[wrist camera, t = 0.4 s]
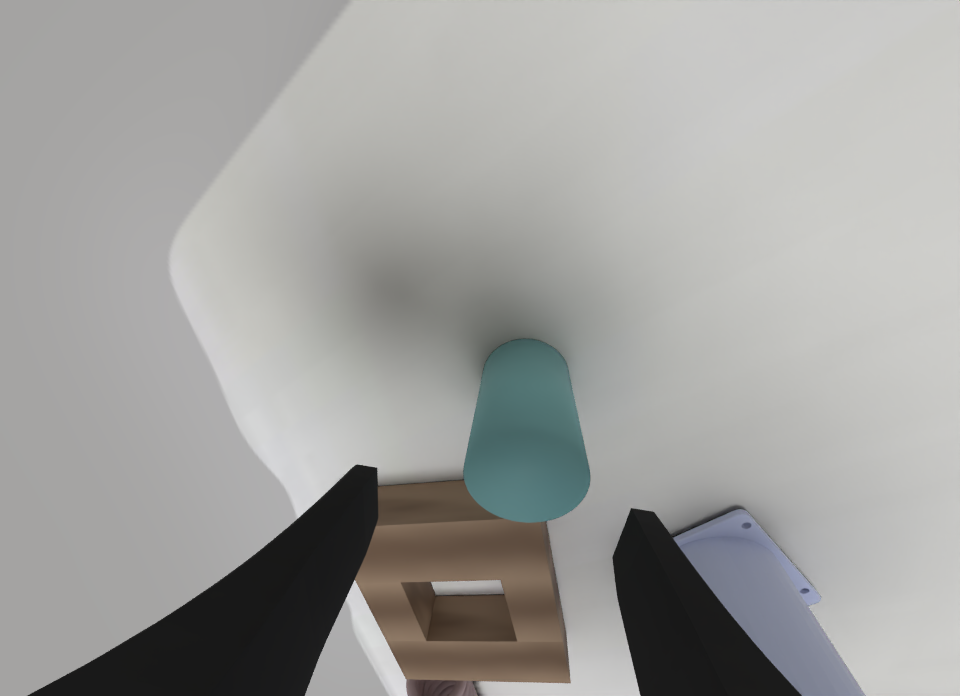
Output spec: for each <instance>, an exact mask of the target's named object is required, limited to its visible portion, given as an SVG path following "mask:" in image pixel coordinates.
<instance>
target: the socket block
mask: <svg viewBox="0 0 960 696" xmlns="http://www.w3.org/2000/svg"><path fill="white" fill-rule="evenodd" d="M476 580H501V583H502V587H503V590H504V594H505V595H469V596H436V595H435V593H434V590H433V588H432V585H431V583H430V582H436V581H476ZM355 581H356V583H357V585H358V587H359V588H360V590H361V592H362V594H363V596H364V598H365V600H366V602H367V604H368V606H369V608H370V610H371V612H372V614H373V616H374V618H375V620H376V622H377V624H378V625H379V627H380V629H381V631H382V633H383V635H384V637H385V639H386V641H387V643H388V645H389V647H390V649H391V651H392V653H393V655H394V657H395V659H396V661H397V662H398V664H399V666H400V668H401V670H402V672H403V674H404V676H405V678H406V679H415V680H458V681H500V682H542V683H571V682H570V670H569V659H568V648H567V637H566V630H565V625H564V619H563V613H562V608H561V602H560V597H559V591H558V585H557V580H556V574H555V569H554V563H553V558H552V552H551V546H550V541H549V535H548V530H547V524H546V521H544V522H533V523H526V522H517V521H511V520H507V519H504V518H501V517H499V516H496V515H494V514H492V513H490V512H489V511H487V510H486V509H484V508H483V507H482V506H480V505H479V504H478V503H477V502H476V501H475V500H474V499H473V497H472V496H471V495H470V493H469V491H468V489H467V487H466V485H465V481H464V480H457V481H444V482H431V483H417V484H404V485H390V486H378V521H377V524H376V527H375V530H374V533H373V536H372V539H371V542H370V545H369V548H368V550H367V553H366V556H365V558H364V560H363V562H362V565H361V567H360V569H359V571H358V573H357V575H356V578H355Z"/></svg>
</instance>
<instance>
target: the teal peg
mask: <svg viewBox="0 0 960 696" xmlns="http://www.w3.org/2000/svg"><path fill="white" fill-rule="evenodd" d="M463 474H464V481H465V485H466V487H467V489H468V491H469V493H470V495H471V496H472V497H473V499H474V500H475V501H476V502H477V503H478V504H479V505H480V506H482V507H483V508H484V509H486V510H487V511H489V512H490V513H492V514H494V515H496V516H499V517H501V518H504V519H507V520H511V521H517V522H526V523H533V522H544V521H548V520H552V519H555V518H558V517H561V516H563V515H565V514H567V513H568V512H570V511H572V510H573V509H574V508H575V507H577V506H578V504H579V503H580V502H581V501H582V500H583V498H584V497H585V495H586V493H587V491H588V488H589V485H590V469H589V465H588V460H587V455H586V451H585V446H584V441H583V437H582V432H581V427H580V422H579V418H578V413H577V408H576V404H575V399H574V394H573V390H572V385H571V380H570V375H569V371H568V367H567V364H566V362H565V360H564V358H563V357H562V355H561V354H560V353H559V352H558V351H557V350H556V349H554V348H553V347H552V346H550V345H548V344H546V343H544V342H541V341H538V340H533V339H518V340H513V341H510V342H507V343H505V344H503V345H501V346H500V347H498V348H497V349H496V350H494V351H493V352H492V354H491V355H490V356H489V358H488V359H487V361H486V363H485V366H484V370H483V374H482V379H481V384H480V389H479V394H478V399H477V404H476V409H475V414H474V419H473V424H472V429H471V433H470V438H469V443H468V448H467V453H466V458H465V463H464V470H463Z"/></svg>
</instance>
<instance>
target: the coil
mask: <svg viewBox="0 0 960 696" xmlns="http://www.w3.org/2000/svg"><path fill="white" fill-rule="evenodd" d="M406 688H407V694H408V696H478V695H477V693H476V690H475V688H474V685H473V682H472V681H458V680H415V679H407V682H406Z"/></svg>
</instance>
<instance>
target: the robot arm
mask: <svg viewBox="0 0 960 696" xmlns="http://www.w3.org/2000/svg"><path fill="white" fill-rule="evenodd" d="M377 521H378V479H377V468H375V467H369V466H363V465H355V466H354V467H353V468H352V469H350V470H349V471H348V472H347V473H346V474H345V475H344V476H343V477H342V478H341V479H340V480H339V481H338V482H337V483H336V484H335V485H334V486H333V487H332V488H331V489H330V490H329V491H328V492H327V493H326V494H325V495H323V496H322V497H321V498H320V499H319V500H318V501H317V502H316V503H315V504H314V505H313V506H312V507H310V508H309V509H308V510H307V511H306V512H305V513H304V514H303V515H301V516H300V517H299V518H298V519H297V520H296V521H295V522H294V523H292V524H291V525H290V526H289V527H288V528H287V529H285V530H284V531H283V532H282V533H281V534H279V535H278V536H277V537H276V538H274V540H272V541H271V542H270V543H268V544H267V545H266V546H265V547H264V548H262V549H261V550H260V551H259V552H257V553H256V554H255V555H253V556H252V557H251V558H250V559H248V560H247V561H246V562H244V563H243V564H242V565H240V566H239V567H238V568H236V569H235V570H234V571H232V572H231V573H229V574H228V575H227V576H225V577H224V578H223V579H221V580H220V581H218V582H217V583H216V584H214V585H213V586H211V587H210V588H208V589H207V590H206V591H204V592H203V593H201V594H199V595H198V596H196V597H195V598H193V599H192V600H191V601H189V602H188V603H186V604H185V605H183V606H182V607H180V608H179V609H177V610H176V611H174V612H173V613H171V614H169V615H168V616H166V617H165V618H163V619H161V620H160V621H158V622H157V623H155V624H153V625H152V626H150V627H148V628H147V629H145V630H143V631H142V632H140V633H138V634H137V635H135V636H133V637H132V638H130V639H128V640H127V641H125V642H123V643H122V644H120V645H118V646H116V647H115V648H113V649H112V650H110V651H108V652H106V653H105V654H103V655H102V656H100V657H98V658H96V659H95V660H93V661H91V662H89V663H87V664H86V665H84V666H82V667H80V668H78V669H77V670H75V671H73V672H71V673H69V674H67V675H65V676H63V677H61V678H60V679H58V680H56V681H54V682H52V683H50V684H49V685H46V686H45V687H43V688H41V689H39V690H37V691H35V692H34V693H32V694H30V695H28V696H305V693H306V691H307V688H308V685H309V683H310V680H311V677H312V674H313V672H314V669H315V666H316V664H317V661H318V659H319V656H320V654H321V652H322V649H323V647H324V644H325V642H326V640H327V638H328V636H329V633H330V631H331V629H332V627H333V625H334V623H335V621H336V618H337V616H338V614H339V612H340V610H341V608H342V606H343V603H344V601H345V599H346V597H347V595H348V593H349V591H350V588H351V586H352V584H353V582H354V580H355V578H356V575H357V573H358V571H359V569H360V567H361V565H362V562H363V560H364V558H365V556H366V553H367V550H368V548H369V545H370V542H371V539H372V536H373V533H374V530H375V527H376V524H377ZM613 565H614V574H615V582H616V590H617V597H618V602H619V606H620V611H621V615H622V619H623V624H624V628H625V632H626V636H627V641H628V645H629V649H630V653H631V657H632V662H633V666H634V670H635V674H636V678H637V683H638V687H639V691H640V695H641V696H866V695H865V694H864V692H863V691H862V689H861V688H860V686H859V685H858V683H857V681H856V680H855V678H854V677H853V675H852V674H851V672H850V671H849V669H848V667H847V666H846V664H845V663H844V661H843V660H842V658H841V657H840V655H839V653H838V652H837V650H836V649H835V647H834V646H833V644H832V643H831V641H830V639H829V638H828V636H827V635H826V633H825V632H824V630H823V629H822V627H821V626H820V624H819V622H818V621H817V619H816V618H815V616H814V615H813V613H812V612H811V610H810V608H809V607H808V606H809V605H812V604H815V603H818V602H819V601H820V600H821V596H820V595H819V593H818V592H817V590H816V589H815V588H814V587H813V586H812V585H811V584H810V582H809V581H808V580H807V579H806V578H805V577H804V576H803V574H802V573H801V572H800V571H799V570H798V569H797V568H796V566H795V565H794V564H793V563H792V562H791V561H790V560H789V559H788V557H787V556H786V555H785V554H784V553H783V552H782V551H781V549H780V548H779V547H778V546H777V545H776V544H775V543H774V541H773V540H772V539H771V538H770V537H769V536H768V535H767V533H766V532H765V531H764V530H763V529H762V528H761V527H760V526H759V524H758V523H757V522H756V521H755V520H754V519H753V518H752V516H751V515H750V514H749V513H748V512H747V511H746V510H742V509H737V510H734V511H732V512H729V513H727V514H725V515H723V516H720V517H718V518H716V519H714V520H711V521H709V522H707V523H705V524H702V525H700V526H698V527H696V528H693V529H691V530H689V531H687V532H684V533H682V534H680V535H678V536H675V537H673V538H672V536H671V535H670V533H669V532H668V531H667V529H666V528H665V527H664V525H663V524H662V522H661V521H660V520H659V518H658V517H657V516H656V514H655V513H654V512H651V511H645V510H639V509H633V508H631V510H630V513H629V516H628V518H627V521H626V523H625V526H624V529H623V531H622V534H621V536H620V539H619V542H618V544H617V547H616V550H615V552H614V555H613Z"/></svg>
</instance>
